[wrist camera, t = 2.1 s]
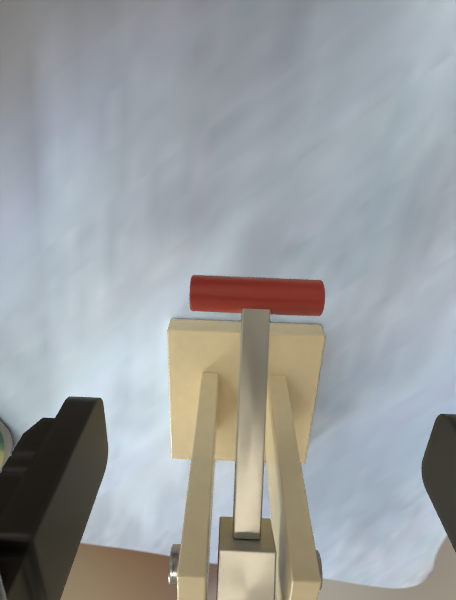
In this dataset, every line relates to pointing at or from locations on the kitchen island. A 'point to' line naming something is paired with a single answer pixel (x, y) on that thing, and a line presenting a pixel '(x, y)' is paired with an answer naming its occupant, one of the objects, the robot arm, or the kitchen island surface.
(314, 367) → the bracket
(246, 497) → the lever
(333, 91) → the kitchen island surface
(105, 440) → the robot arm
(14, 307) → the kitchen island surface
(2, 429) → the lotion bottle
